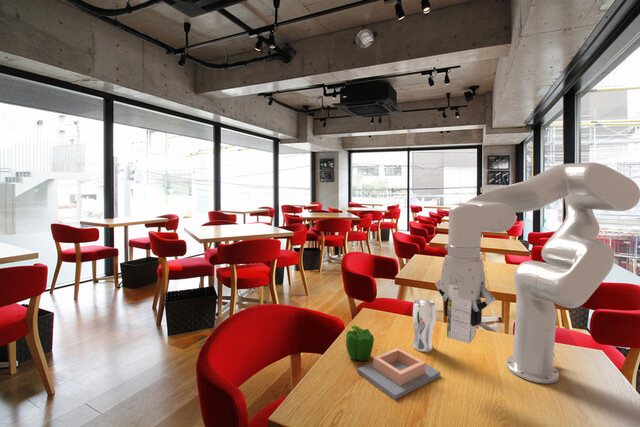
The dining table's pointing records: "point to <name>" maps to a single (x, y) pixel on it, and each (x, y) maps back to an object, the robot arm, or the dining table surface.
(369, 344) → the bell pepper
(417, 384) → the socket board
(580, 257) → the robot arm
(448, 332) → the syrup box
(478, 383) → the dining table surface
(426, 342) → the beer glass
